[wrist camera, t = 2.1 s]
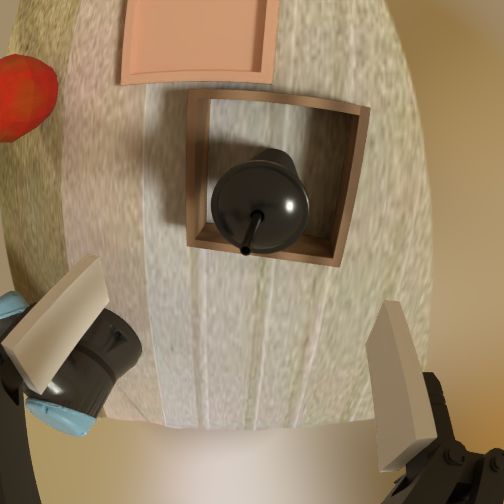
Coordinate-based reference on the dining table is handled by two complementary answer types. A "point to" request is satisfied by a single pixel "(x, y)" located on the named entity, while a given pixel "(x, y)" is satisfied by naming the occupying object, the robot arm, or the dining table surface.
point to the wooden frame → (197, 172)
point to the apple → (25, 95)
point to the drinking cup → (261, 204)
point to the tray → (200, 41)
